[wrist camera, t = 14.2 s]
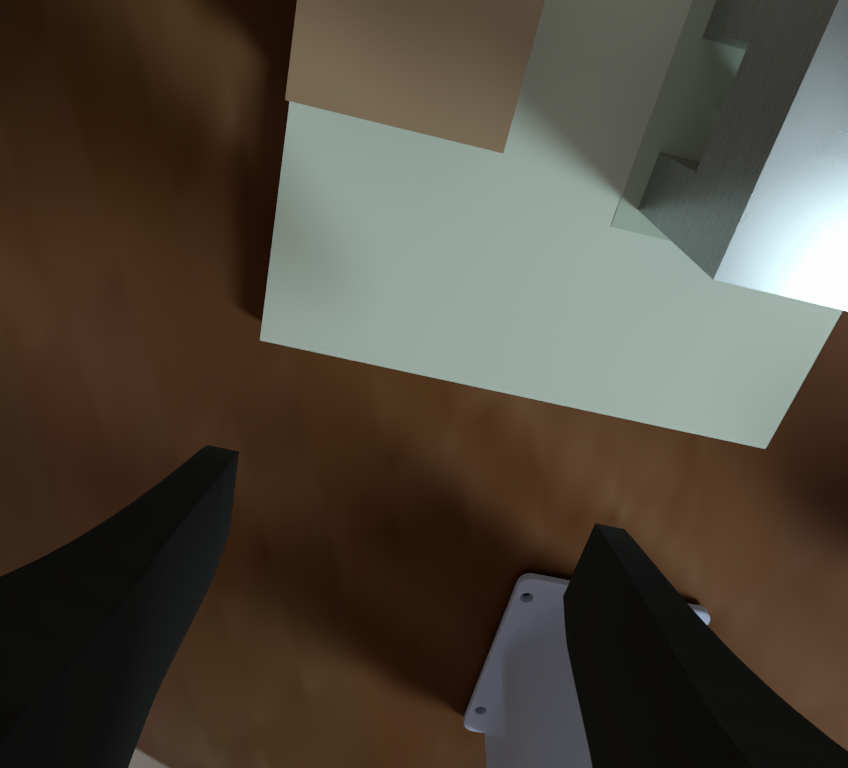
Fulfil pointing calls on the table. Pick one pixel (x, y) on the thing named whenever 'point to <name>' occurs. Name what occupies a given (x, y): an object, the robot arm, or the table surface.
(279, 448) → the table surface
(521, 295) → the base
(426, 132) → the cover
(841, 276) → the grey block
